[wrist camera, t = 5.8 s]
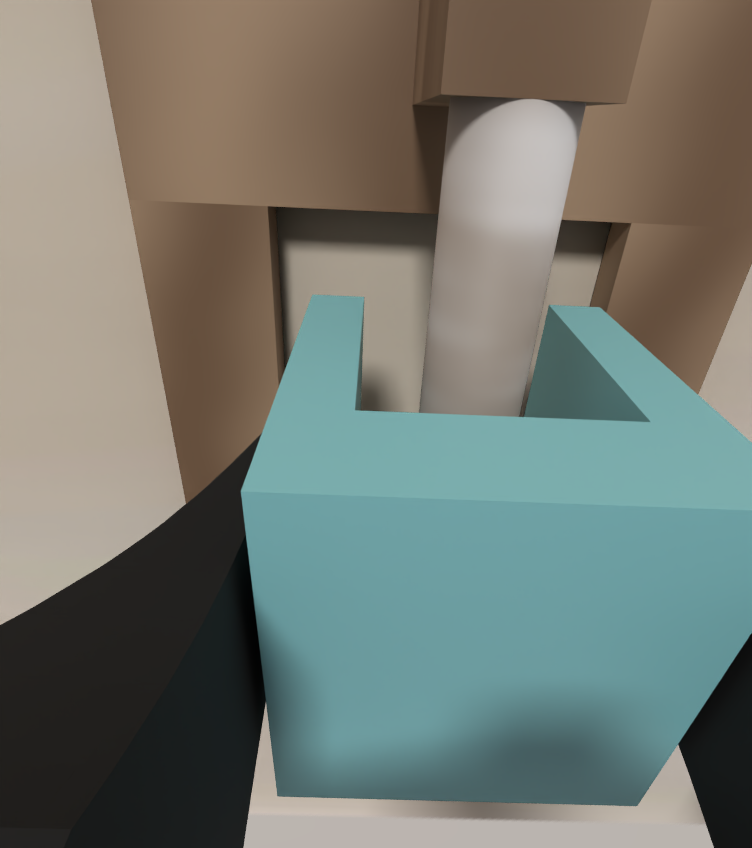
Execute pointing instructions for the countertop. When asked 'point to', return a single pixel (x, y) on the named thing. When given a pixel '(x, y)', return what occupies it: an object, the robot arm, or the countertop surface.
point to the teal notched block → (494, 574)
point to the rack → (428, 177)
